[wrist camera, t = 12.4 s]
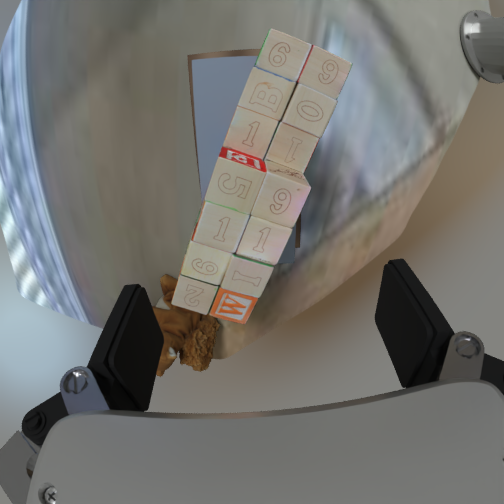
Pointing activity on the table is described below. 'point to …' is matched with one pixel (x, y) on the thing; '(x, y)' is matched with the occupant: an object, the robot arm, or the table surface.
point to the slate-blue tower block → (221, 115)
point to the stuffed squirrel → (183, 331)
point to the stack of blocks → (259, 177)
